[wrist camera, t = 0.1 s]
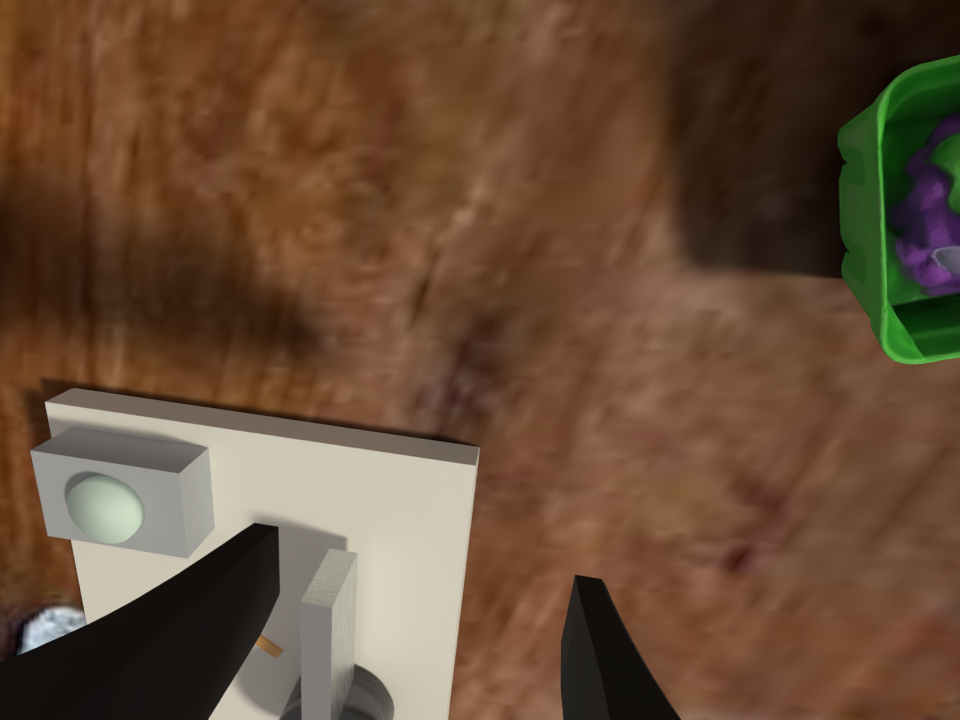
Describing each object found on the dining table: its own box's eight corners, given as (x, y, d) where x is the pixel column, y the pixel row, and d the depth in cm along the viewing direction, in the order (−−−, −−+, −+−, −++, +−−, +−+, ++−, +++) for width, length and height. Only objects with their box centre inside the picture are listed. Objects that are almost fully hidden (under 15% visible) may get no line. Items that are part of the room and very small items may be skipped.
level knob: (392, 748, 28) (371, 827, 24) (294, 730, 28) (261, 806, 25) (405, 552, 23) (383, 616, 20) (290, 533, 24) (250, 594, 21)
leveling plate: (444, 744, 30) (430, 829, 26) (123, 685, 31) (65, 758, 27) (480, 447, 23) (467, 502, 20) (73, 387, 24) (-12, 429, 21)
